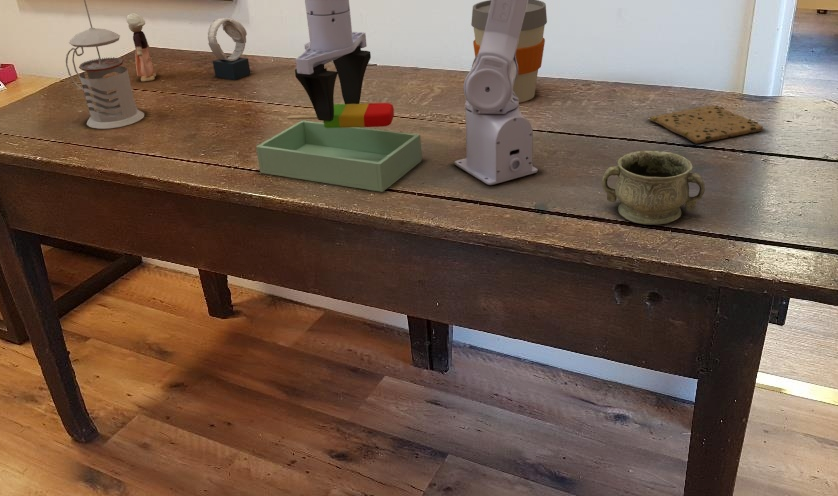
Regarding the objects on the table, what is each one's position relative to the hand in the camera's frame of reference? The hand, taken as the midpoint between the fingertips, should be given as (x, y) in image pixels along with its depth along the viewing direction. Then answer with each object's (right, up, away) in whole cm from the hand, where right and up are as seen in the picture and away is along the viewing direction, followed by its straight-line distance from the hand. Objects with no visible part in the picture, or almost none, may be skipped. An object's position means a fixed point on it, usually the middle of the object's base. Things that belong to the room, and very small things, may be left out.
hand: (339, 111), depth 112 cm
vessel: (+39, -16, -14) cm, 45 cm away
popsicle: (0, -1, +1) cm, 2 cm away
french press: (-43, +5, +29) cm, 52 cm away
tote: (0, -7, +3) cm, 8 cm away
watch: (-26, +19, +48) cm, 58 cm away
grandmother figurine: (-44, +18, +49) cm, 69 cm away
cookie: (+55, 0, +10) cm, 55 cm away
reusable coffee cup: (+27, +9, +28) cm, 40 cm away
